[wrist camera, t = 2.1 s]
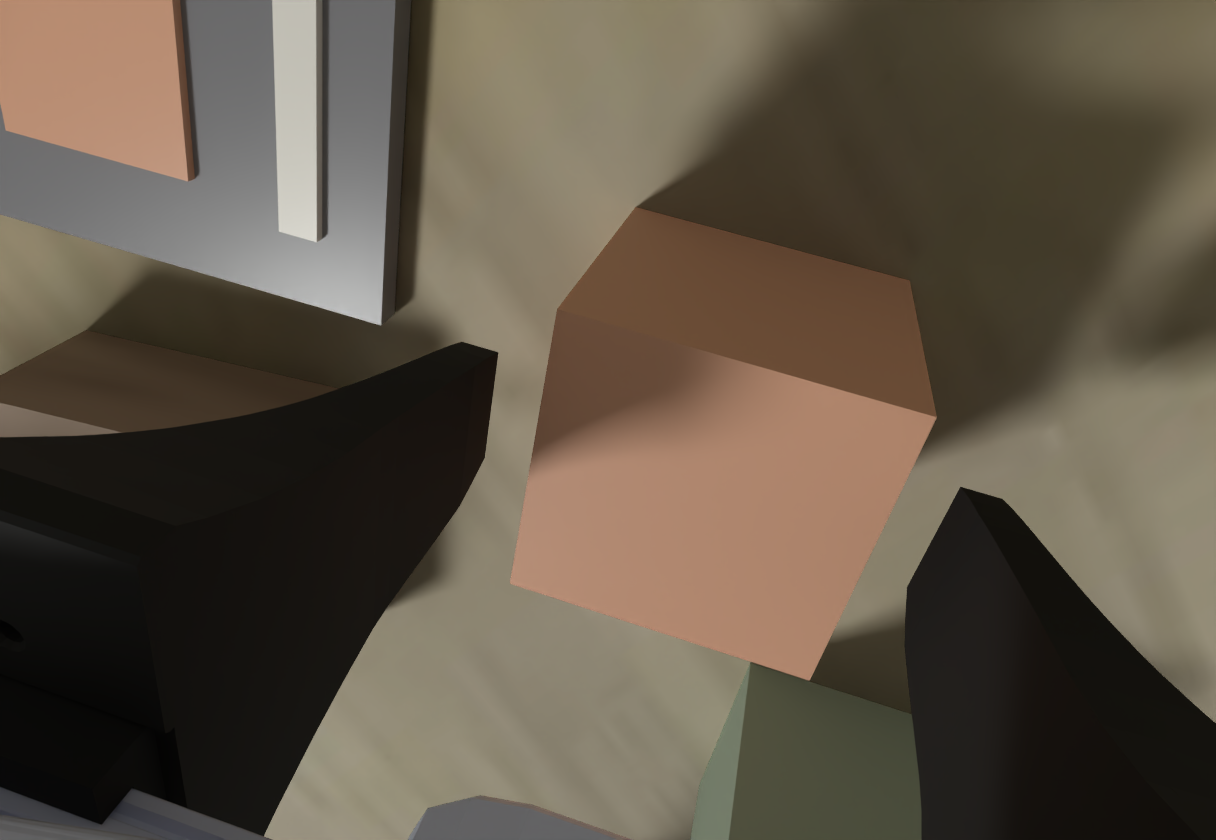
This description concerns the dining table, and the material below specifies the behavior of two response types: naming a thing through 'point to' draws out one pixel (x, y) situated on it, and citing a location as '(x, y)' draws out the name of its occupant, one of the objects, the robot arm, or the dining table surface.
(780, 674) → the sage block
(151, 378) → the walnut base
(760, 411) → the terracotta block
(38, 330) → the dining table surface
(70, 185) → the card
